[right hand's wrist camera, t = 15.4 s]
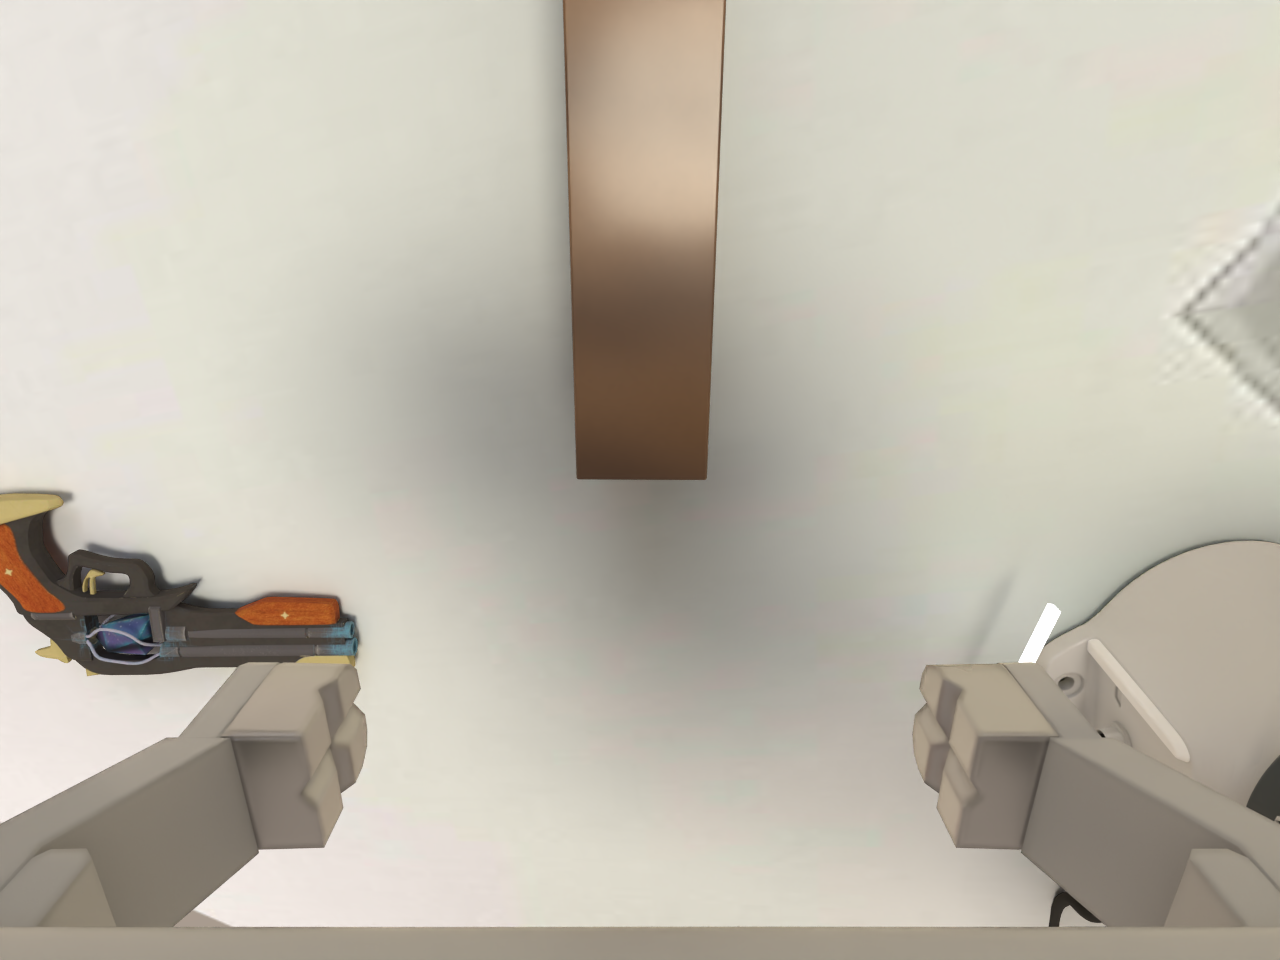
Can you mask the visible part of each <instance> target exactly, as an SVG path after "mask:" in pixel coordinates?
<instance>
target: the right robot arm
mask: <svg viewBox="0 0 1280 960" xmlns="http://www.w3.org/2000/svg"><path fill="white" fill-rule="evenodd" d="M1060 613H1061V612H1060V611H1059V610H1058V609H1057V607H1056V606H1055V605H1053V604H1047V606H1046V608H1045V610H1044V612H1043V614H1042V616H1041V618H1040V620H1039V622H1038V624H1037V626H1036V628H1035V630H1034V632H1033V634H1032V636H1031V638H1030V640H1029V642H1028V644H1027V646H1026V648H1025V650H1024V652H1023V654H1022V656H1021V658H1020V660H1019V662H1013V663H997V664H947V665H926V667H925V669H924V671H923V673H922V677H921V682H920V688H919V689H920V691H921V693H922V695H923V697H924V698H925V700H926V702H927V703H926V704H925V705H924V706H923V707H922V708H921V709H920V710H919V711H918V712H917V713H916V714H915V718H914V726H913V734H912V735H913V747H914V755H915V759H916V763H917V766H918V769H919V772H920V774H921V776H922V778H923V780H924V782H925V783H926V784H927V785H928V786H930V787H931V788H933V789H934V790H935V791H937V792H938V793H939V798H938V803H937V810H938V812H939V814H940V816H941V818H942V820H943V822H944V824H945V826H946V828H947V830H948V832H949V834H950V836H951V838H952V840H953V842H954V845H955V847H956V848H986V849H1021V853H1022V854H1023V855H1024V856H1026V857H1027V858H1028V859H1029V860H1030V861H1031V862H1032V863H1034V864H1035V865H1036V866H1037V867H1038V868H1039V869H1041V870H1042V871H1043V872H1044V873H1045V874H1046V875H1048V876H1049V877H1050V878H1051V879H1052V880H1053V881H1055V882H1056V883H1057V884H1058V885H1059V886H1060V887H1062V888H1063V889H1064V890H1065V891H1066V892H1063V893H1061V894H1059V895H1058V896H1057V897H1056V898H1055V899H1054V901H1053V904H1052V907H1051V915H1050V922H1049V927H173V926H174V925H176V924H177V923H178V922H179V921H180V920H181V919H183V918H184V917H185V916H186V915H187V914H188V913H190V912H191V911H192V910H193V909H194V908H195V907H197V906H198V905H199V904H200V903H201V902H202V901H204V900H205V899H206V898H207V897H208V896H209V895H211V894H212V893H213V892H214V891H215V890H216V889H218V888H219V887H220V886H221V885H222V884H223V883H225V882H226V881H227V880H228V879H229V878H230V877H232V876H233V875H234V874H235V873H236V872H237V871H239V870H240V869H241V868H242V867H243V866H244V865H246V864H247V863H248V862H249V861H250V860H251V859H253V858H254V857H255V856H256V855H257V854H258V853H259V849H293V848H324V847H325V845H326V843H327V841H328V839H329V836H330V834H331V832H332V830H333V828H334V826H335V824H336V822H337V820H338V818H339V816H340V814H341V812H342V810H343V803H342V797H341V793H342V792H343V791H345V790H346V789H347V788H349V787H350V786H352V785H353V784H354V783H355V782H356V780H357V778H358V776H359V774H360V771H361V769H362V767H363V763H364V758H365V753H366V748H367V724H366V718H365V714H364V713H363V712H362V711H361V710H360V709H359V708H358V707H357V706H356V705H355V704H354V703H353V702H354V700H355V698H356V697H357V695H358V693H359V691H360V689H361V688H360V683H359V678H358V673H357V669H356V668H355V667H353V666H352V665H351V664H331V663H285V662H283V663H278V662H248V663H245V664H242V665H240V666H238V667H237V669H236V670H235V671H234V672H233V673H232V674H231V676H230V677H229V678H228V679H227V680H226V682H225V683H224V684H223V685H222V686H221V687H220V689H219V690H218V691H217V692H216V693H215V695H214V696H213V697H212V698H211V699H210V700H209V702H208V703H207V704H206V705H205V706H204V708H203V709H202V710H201V711H200V712H199V713H198V715H197V716H196V717H195V718H194V719H193V721H192V722H191V723H190V724H189V725H188V726H187V728H186V729H185V730H184V731H183V732H182V733H181V735H180V736H179V737H178V738H165V739H163V740H161V741H159V742H157V743H155V744H153V745H152V746H150V747H148V748H146V749H144V750H142V751H140V752H138V753H136V754H134V755H132V756H130V757H128V758H127V759H125V760H123V761H121V762H119V763H117V764H115V765H113V766H111V767H109V768H107V769H105V770H103V771H102V772H100V773H98V774H96V775H94V776H92V777H90V778H88V779H86V780H84V781H82V782H80V783H78V784H77V785H75V786H73V787H71V788H69V789H67V790H65V791H63V792H61V793H59V794H57V795H55V796H53V797H52V798H50V799H48V800H46V801H44V802H42V803H40V804H38V805H36V806H34V807H32V808H30V809H28V810H27V811H25V812H23V813H21V814H19V815H17V816H15V817H13V818H11V819H9V820H7V821H5V822H3V823H2V824H0V960H1280V544H1277V543H1272V542H1265V541H1231V542H1223V543H1217V544H1212V545H1208V546H1204V547H1200V548H1197V549H1193V550H1190V551H1188V552H1185V553H1182V554H1180V555H1177V556H1175V557H1173V558H1170V559H1168V560H1166V561H1164V562H1162V563H1160V564H1158V565H1157V566H1155V567H1153V568H1151V569H1150V570H1148V571H1147V572H1145V573H1143V574H1142V575H1140V576H1139V577H1138V578H1136V579H1135V580H1133V581H1132V582H1131V583H1130V584H1128V585H1127V586H1126V587H1125V588H1123V589H1122V590H1121V591H1120V592H1119V593H1118V594H1117V595H1116V596H1115V597H1114V598H1113V599H1112V600H1111V601H1110V602H1109V603H1108V604H1107V605H1106V606H1105V607H1104V608H1103V609H1102V610H1101V611H1100V612H1099V613H1097V614H1096V615H1095V616H1094V617H1093V618H1092V619H1090V620H1089V621H1088V622H1086V623H1085V624H1083V625H1081V626H1078V627H1076V628H1074V629H1072V630H1071V631H1069V632H1067V633H1065V634H1063V635H1061V636H1059V637H1057V638H1056V639H1054V640H1052V641H1051V642H1049V643H1048V644H1047V645H1045V646H1044V644H1045V642H1046V640H1047V638H1048V636H1049V634H1050V632H1051V630H1052V628H1053V626H1054V624H1055V622H1056V620H1057V619H1058V617H1059V615H1060ZM1043 646H1044V647H1043ZM1035 662H1036V663H1035ZM1065 677H1066V678H1065ZM1062 678H1065V679H1064V680H1063V681H1060V680H1061V679H1062ZM1059 681H1060V682H1059ZM1069 905H1071V906H1072V907H1073V908H1074V910H1075V911H1076V912H1077V913H1078V914H1079V915H1081V916H1082V917H1083V918H1085V919H1086V920H1088V921H1090V922H1095V923H1103V924H1105V925H1106V926H1107V927H1059V921H1060V917H1061V914H1062V911H1063V909H1064V908H1065V907H1067V906H1069Z"/></svg>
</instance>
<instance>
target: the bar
mask: <svg viewBox="0 0 1280 960" xmlns="http://www.w3.org/2000/svg"><path fill="white" fill-rule="evenodd" d="M725 14H726V0H563V22H564V57H565V92H566V127H567V162H568V197H569V232H570V266H571V301H572V336H573V371H574V406H575V441H576V475H577V479H625V480H706V478H707V461H708V436H709V411H710V387H711V362H712V337H713V312H714V287H715V262H716V238H717V213H718V188H719V163H720V138H721V114H722V89H723V64H724V39H725Z"/></svg>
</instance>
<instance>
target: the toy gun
mask: <svg viewBox="0 0 1280 960" xmlns="http://www.w3.org/2000/svg"><path fill="white" fill-rule="evenodd" d="M63 503H64V502H63V500H62V499H61V498H60V497H59V496H57V495H50V494H18V493H14V494H1V495H0V589H1V590H2V591H3V592H4V593H5V594H6V595H7V596H8V597H9V598H10V599H11V601H12V602H13V603H14V605H15V608H16V610H17V612H18V613H19V614H22V615H23V616H24V617H25V619H26V620H27V621H28V623H29V624H31V625H32V626H33V627H35V628H36V629H38V630H39V631H41V632H42V633H44V634H45V635H46V636H48V637H49V638H51V639H50V642H51V646H49V647H45V648H41V649H38V650H37V651H35V653H36V654H38V655H39V656H42V657H46V658H53V659H59V660H60V661H62V662H64V663H68V662H70V661H71V660H72V659H73V660H76V661H77V662H78V663H79V664H80V665H82V666H83V667H84V668H86V672H87V676H91V675H98V674H103V675H149V674H163V673H170V672H176V671H182V670H187V669H192V668H199V667H238V666H240V665H242V664H245V663H248V662H278V663H283V662H285V663H331V664H351V665H352V666H353V667H354V666H355V657H354V655H355V654H356V652H357V647H358V641H357V639H356V637H353V636H354V631H355V626H354V622H353V621H348V618H340V613H339V604H338V602H337V600H336V599H329V598H304V597H266V598H263V599H260V600H258V601H255V602H253V603H250V604H248V605H245V606H242V607H240V608H237V609H225V608H202V607H196V606H192V605H188V604H185V603H182V601H183V600H184V599H186V598H187V597H188V596H189V595H190V594H191V592H192V591H193V590H194V588H195V587H196V585H197V583H192V584H189V585H186V586H183V587H179V588H174V589H167V590H159V589H158V588H157V587H156V585H155V578H154V574H153V571H152V569H151V568H150V567H149V565H148V564H147V563H146V562H144V561H143V560H141V559H123V558H113V557H108V556H103V555H99V554H96V553H92V552H89V551H85V550H77V551H76V552H74V553H72V554H70V555H69V556H68V571H67V574H66V575H65V574H64V573H63V572H62V571H61V570H60V568H59V567H58V566H57V564H56V563H55V562H54V560H53V559H52V557H51V556H50V554H49V553H48V551H47V549H46V548H45V546H44V542H43V535H42V524H43V518H44V515H45V514H46V513H47V511H50V510H53V509H56V508H58V507H61V506H62V505H63ZM82 567H88V568H92V569H91V570H90V571H89V572H88V574H87V575H86V577H85V579H84V581H83V585H82V583H81V575H80V573H81V569H82ZM103 571H104V572H103ZM105 572H110V573H123V574H127V575H128V576H129V578H130V586H129V588H128V590H127V591H97V590H96V583H95V578H96V577H97V576H101V575H104V574H105ZM89 577H90V589H89V588H88V579H89ZM128 614H132V615H129V616H126V617H123V618H121V619H118V620H115V621H112V622H109V623H107V622H108V621H109V620H110V619H111V618H112V617H114V616H116V615H128ZM98 615H110V616H109V617H108V618H107V619H105V621H104V622H103V623H102V624H100V623H99V621H98ZM160 642H163V643H161V644H158V643H160ZM155 646H161V647H160V652H159V653H157V654H147V653H148V652H149V651H150V650H152V649H153V648H154V647H155ZM103 647H104V648H105V649H106V650H105V649H104V648H103ZM120 653H127V654H120ZM130 654H131V655H130Z"/></svg>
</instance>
